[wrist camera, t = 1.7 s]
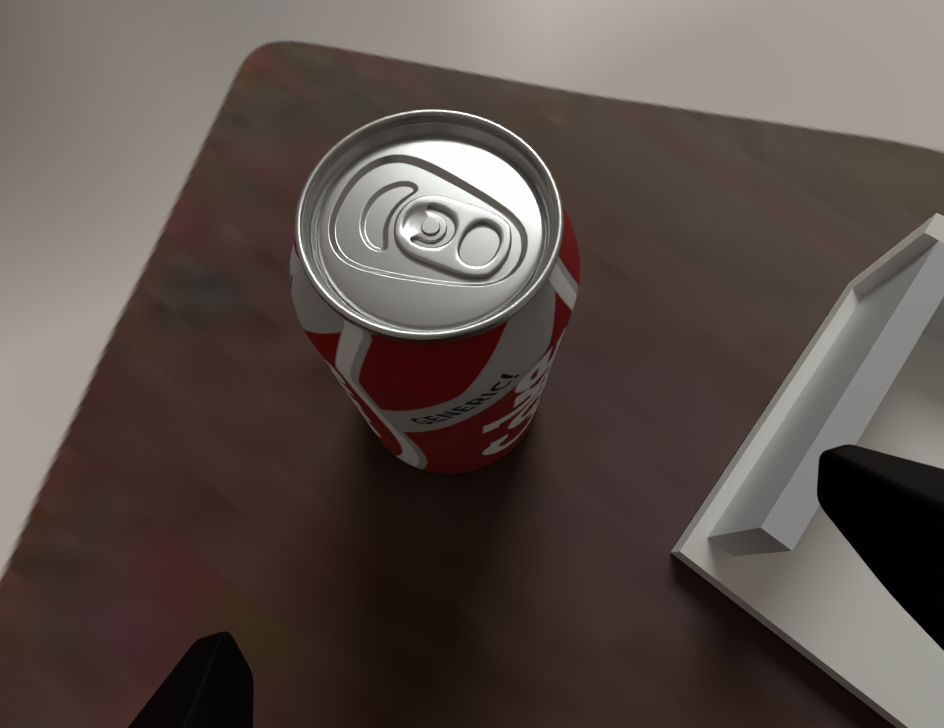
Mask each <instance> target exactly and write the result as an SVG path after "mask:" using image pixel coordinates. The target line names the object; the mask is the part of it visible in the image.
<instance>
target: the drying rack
mask: <svg viewBox="0 0 944 728" xmlns="http://www.w3.org/2000/svg"><path fill="white" fill-rule="evenodd" d="M846 444H851V445H856V446H859V447H863V448H867V449H871V450H874V451H878V452H882V453H886V454H889V455H893V456H897V457H901V458H904V459H908V460H912V461H916V462H919V463H923V464H927V465H931V466H934V467H938V468H942V469H944V216H942V215H940V214H938V213H936V214H935V215H933V216H932V217H931V218H930V219H928V220H927V221H926V222H925V223H923V224H922V225H921V226H920V227H918V228H917V229H916V230H915V231H913V232H912V233H911V234H910V235H908V236H907V237H906V238H905V239H903V240H902V241H901V242H900V243H898V244H897V245H896V246H894V247H893V248H892V249H891V250H889V251H888V252H887V253H886V254H884V255H883V256H882V257H881V258H879V259H878V260H877V261H876V262H874V263H873V264H872V265H871V266H869V267H868V268H867V269H866V270H864V271H863V272H862V273H861V274H859V275H858V276H857V277H856V278H854V279H853V280H852V281H851V282H849V284H848V285H847V287H846V288H845V290H844V291H843V293H842V294H841V296H840V297H839V299H838V300H837V302H836V303H835V305H834V306H833V308H832V309H831V311H830V312H829V314H828V315H827V317H826V318H825V320H824V321H823V323H822V324H821V326H820V327H819V329H818V330H817V332H816V334H815V335H814V337H813V338H812V340H811V341H810V343H809V344H808V346H807V347H806V349H805V350H804V352H803V353H802V355H801V356H800V358H799V359H798V361H797V362H796V364H795V365H794V367H793V368H792V370H791V371H790V373H789V374H788V376H787V377H786V379H785V380H784V382H783V383H782V385H781V386H780V388H779V389H778V391H777V392H776V394H775V395H774V397H773V398H772V400H771V402H770V403H769V405H768V406H767V408H766V409H765V411H764V412H763V414H762V415H761V417H760V418H759V420H758V421H757V423H756V424H755V426H754V427H753V429H752V430H751V432H750V433H749V435H748V436H747V438H746V439H745V441H744V442H743V444H742V445H741V447H740V448H739V450H738V451H737V453H736V454H735V456H734V457H733V459H732V460H731V462H730V463H729V465H728V466H727V468H726V469H725V471H724V473H723V474H722V476H721V477H720V479H719V480H718V482H717V483H716V485H715V486H714V488H713V489H712V491H711V492H710V494H709V495H708V497H707V498H706V500H705V501H704V503H703V504H702V506H701V507H700V509H699V510H698V512H697V513H696V515H695V516H694V518H693V519H692V521H691V522H690V524H689V525H688V527H687V528H686V530H685V531H684V533H683V534H682V536H681V537H680V539H679V541H678V542H677V544H676V545H675V547H674V548H673V550H672V551H671V553H672V554H673V555H674V556H676V557H677V558H678V559H680V560H681V561H682V562H683V563H685V564H686V565H687V566H689V567H690V568H691V569H692V570H694V571H695V572H696V573H698V574H699V575H700V576H701V577H703V578H704V579H705V580H707V581H708V582H709V583H711V584H712V585H713V586H714V587H716V588H717V589H718V590H720V591H721V592H722V593H723V594H725V595H726V596H727V597H729V598H730V599H731V600H732V601H734V602H735V603H736V604H738V605H739V606H740V607H741V608H743V609H744V610H745V611H747V612H748V613H749V614H750V615H752V616H753V617H754V618H756V619H757V620H758V621H759V622H761V623H762V624H763V625H765V626H766V627H767V628H769V629H770V630H771V631H772V632H774V633H775V634H776V635H778V636H779V637H780V638H781V639H783V640H784V641H785V642H787V643H788V644H789V645H790V646H792V647H793V648H794V649H796V650H797V651H798V652H799V653H801V654H802V655H803V656H805V657H806V658H807V659H808V660H810V661H811V662H812V663H814V664H815V665H816V666H817V667H819V668H820V669H821V670H823V671H824V672H825V673H826V674H828V675H829V676H830V677H832V678H833V679H834V680H836V681H837V682H838V683H839V684H841V685H842V686H843V687H845V688H846V689H847V690H848V691H850V692H851V693H852V694H854V695H855V696H856V697H857V698H859V699H860V700H861V701H863V702H864V703H865V704H866V705H868V706H869V707H870V708H872V709H873V710H874V711H875V712H877V713H878V714H879V715H881V716H882V717H883V718H884V719H886V720H887V721H888V722H890V723H891V724H892V725H894V726H895V727H896V728H944V651H943V650H942V649H941V648H940V647H939V645H938V644H937V643H936V642H935V641H934V640H933V639H932V638H931V637H930V636H929V635H928V634H927V633H926V632H925V631H924V630H923V629H922V628H921V627H920V626H919V624H918V623H917V622H916V621H915V620H914V619H913V618H912V617H911V616H910V615H909V614H908V613H907V612H906V611H905V610H904V609H903V608H902V606H901V605H900V604H899V603H898V602H897V601H896V600H895V599H894V598H893V597H892V595H891V594H890V593H889V592H888V591H887V590H886V588H885V587H884V586H883V585H882V584H881V582H880V581H879V580H878V579H877V578H876V576H875V575H874V574H873V572H872V571H871V570H870V569H869V567H868V566H867V565H866V564H865V562H864V561H863V560H862V559H861V557H860V556H859V555H858V554H857V552H856V551H855V550H854V548H853V547H852V546H851V545H850V543H849V542H848V541H847V540H846V538H845V537H844V536H843V535H842V533H841V532H840V531H839V530H838V528H837V527H836V526H835V524H834V523H833V522H832V521H831V519H830V518H829V517H828V516H827V514H826V513H825V512H824V510H823V509H822V507H821V506H820V504H819V501H818V498H817V480H818V465H819V457H820V455H821V454H822V452H824V451H825V450H828V449H831V448H834V447H838V446H841V445H846Z"/></svg>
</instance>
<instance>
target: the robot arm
mask: <svg viewBox="0 0 944 728" xmlns="http://www.w3.org/2000/svg"><path fill="white" fill-rule="evenodd" d="M817 498H818V501H819V504H820V506H821V507H822V509H823V510H824V512H825V513H826V514H827V516H828V517H829V518H830V519H831V521H832V522H833V523H834V524H835V526H836V527H837V528H838V530H839V531H840V532H841V533H842V535H843V536H844V537H845V538H846V540H847V541H848V542H849V543H850V545H851V546H852V547H853V548H854V550H855V551H856V552H857V554H858V555H859V556H860V557H861V559H862V560H863V561H864V562H865V564H866V565H867V566H868V567H869V569H870V570H871V571H872V572H873V574H874V575H875V576H876V578H877V579H878V580H879V581H880V582H881V584H882V585H883V586H884V587H885V588H886V590H887V591H888V592H889V593H890V594H891V595H892V597H893V598H894V599H895V600H896V601H897V602H898V603H899V604H900V605H901V606H902V608H903V609H904V610H905V611H906V612H907V613H908V614H909V615H910V616H911V617H912V618H913V619H914V620H915V621H916V622H917V623H918V624H919V626H920V627H921V628H922V629H923V630H924V631H925V632H926V633H927V634H928V635H929V636H930V637H931V638H932V639H933V640H934V641H935V642H936V643H937V644H938V645H939V647H940V648H941V649H942V650H943V651H944V469H942V468H938V467H934V466H931V465H927V464H923V463H919V462H916V461H912V460H908V459H904V458H901V457H897V456H893V455H889V454H886V453H882V452H878V451H874V450H871V449H867V448H863V447H859V446H856V445H851V444H846V445H841V446H838V447H834V448H831V449H828V450H825V451H824V452H822V454H821V455H820V457H819V465H818V480H817ZM253 693H254V685H253V677H252V673H251V670H250V667H249V665H248V664H247V662H246V660H245V658H244V656H243V654H242V653H241V651H240V649H239V647H238V645H237V644H236V642H235V640H234V638H233V637H232V635H231V634H230V633H228V632H219V633H216V634H213V635H210V636H206V637H203V638H200V639H198V640H197V641H196V642H194V644H193V645H192V646H191V647H190V648H189V650H188V651H187V652H186V653H185V655H184V656H183V657H182V659H181V660H180V661H179V662H178V664H177V665H176V666H175V668H174V669H173V670H172V671H171V673H170V674H169V675H168V677H167V678H166V679H165V680H164V682H163V683H162V684H161V686H160V687H159V688H158V689H157V691H156V692H155V693H154V695H153V696H152V697H151V698H150V700H149V701H148V702H147V704H146V705H145V706H144V707H143V709H142V710H141V711H140V713H139V714H138V715H137V716H136V718H135V719H134V720H133V721H132V723H131V724H130V725H129V727H128V728H253Z"/></svg>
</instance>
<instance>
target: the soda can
mask: <svg viewBox="0 0 944 728" xmlns="http://www.w3.org/2000/svg"><path fill="white" fill-rule="evenodd" d="M294 229H295V241H294V244H293V248H292V254H291V260H290V287H291V293H292V299H293V303H294V306H295V310H296V313H297V315H298V318H299V320H300V322H301V325H302V327H303V328H304V330H305V332H306V334H307V336H308V337H309V339H310V340H311V342H312V343H313V345H314V346H315V348H316V349H317V350H318V352H319V353H320V355H321V356H322V358H323V359H324V361H325V362H326V363H327V365H328V366H329V368H330V369H331V371H332V372H333V374H334V375H335V376H336V378H337V379H338V381H339V382H340V384H341V385H342V387H343V388H344V389H345V391H346V392H347V394H348V395H349V397H350V398H351V400H352V401H353V402H354V404H355V405H356V407H357V408H358V410H359V411H360V413H361V414H362V415H363V417H364V418H365V420H366V421H367V423H368V424H369V426H370V427H371V428H372V430H373V431H374V433H375V434H376V436H377V437H378V438H379V440H380V441H381V442H382V444H383V445H384V446H385V447H386V448H387V449H388V450H389V451H390V452H391V453H392V454H394V455H395V456H396V457H398V458H399V459H400V460H402V461H404V462H405V463H407V464H409V465H411V466H413V467H416V468H418V469H421V470H424V471H428V472H432V473H439V474H461V473H468V472H472V471H476V470H479V469H482V468H485V467H487V466H489V465H491V464H493V463H495V462H497V461H498V460H500V459H502V458H503V457H504V456H506V455H507V454H508V453H509V452H510V451H512V450H513V449H514V448H515V447H516V446H517V444H518V443H519V442H520V441H521V440H522V438H523V437H524V436H525V434H526V433H527V431H528V429H529V427H530V426H531V423H532V421H533V419H534V416H535V414H536V411H537V408H538V405H539V402H540V400H541V397H542V394H543V391H544V388H545V386H546V383H547V380H548V377H549V375H550V372H551V369H552V366H553V363H554V361H555V358H556V355H557V352H558V349H559V347H560V344H561V341H562V338H563V335H564V333H565V330H566V327H567V324H568V321H569V319H570V316H571V313H572V310H573V307H574V304H575V301H576V297H577V292H578V287H579V278H580V257H579V249H578V244H577V240H576V236H575V232H574V230H573V227H572V224H571V222H570V220H569V218H568V216H567V214H566V212H565V210H564V208H563V205H562V200H561V196H560V192H559V189H558V186H557V184H556V181H555V179H554V177H553V175H552V173H551V171H550V170H549V168H548V167H547V165H546V163H545V162H544V161H543V159H542V158H541V157H540V156H539V154H538V153H537V152H536V151H535V150H534V149H533V148H532V147H531V146H530V145H529V144H528V143H527V142H525V141H524V140H523V139H522V138H521V137H519V136H518V135H516V134H515V133H513V132H512V131H510V130H509V129H507V128H505V127H503V126H502V125H500V124H497V123H495V122H493V121H491V120H488V119H486V118H483V117H480V116H477V115H473V114H469V113H465V112H459V111H452V110H441V109H426V110H414V111H407V112H402V113H397V114H393V115H389V116H386V117H383V118H380V119H377V120H375V121H372V122H370V123H368V124H366V125H364V126H361V127H360V128H358V129H356V130H354V131H353V132H351V133H350V134H348V135H347V136H345V137H344V138H342V139H341V140H340V141H339V142H337V143H336V144H335V145H334V146H333V147H331V148H330V149H329V150H328V151H327V152H326V153H325V154H324V155H323V157H322V158H321V159H320V160H319V161H318V163H317V164H316V165H315V167H314V168H313V170H312V171H311V173H310V174H309V176H308V178H307V180H306V182H305V184H304V186H303V188H302V191H301V193H300V196H299V200H298V203H297V208H296V213H295V225H294Z"/></svg>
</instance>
